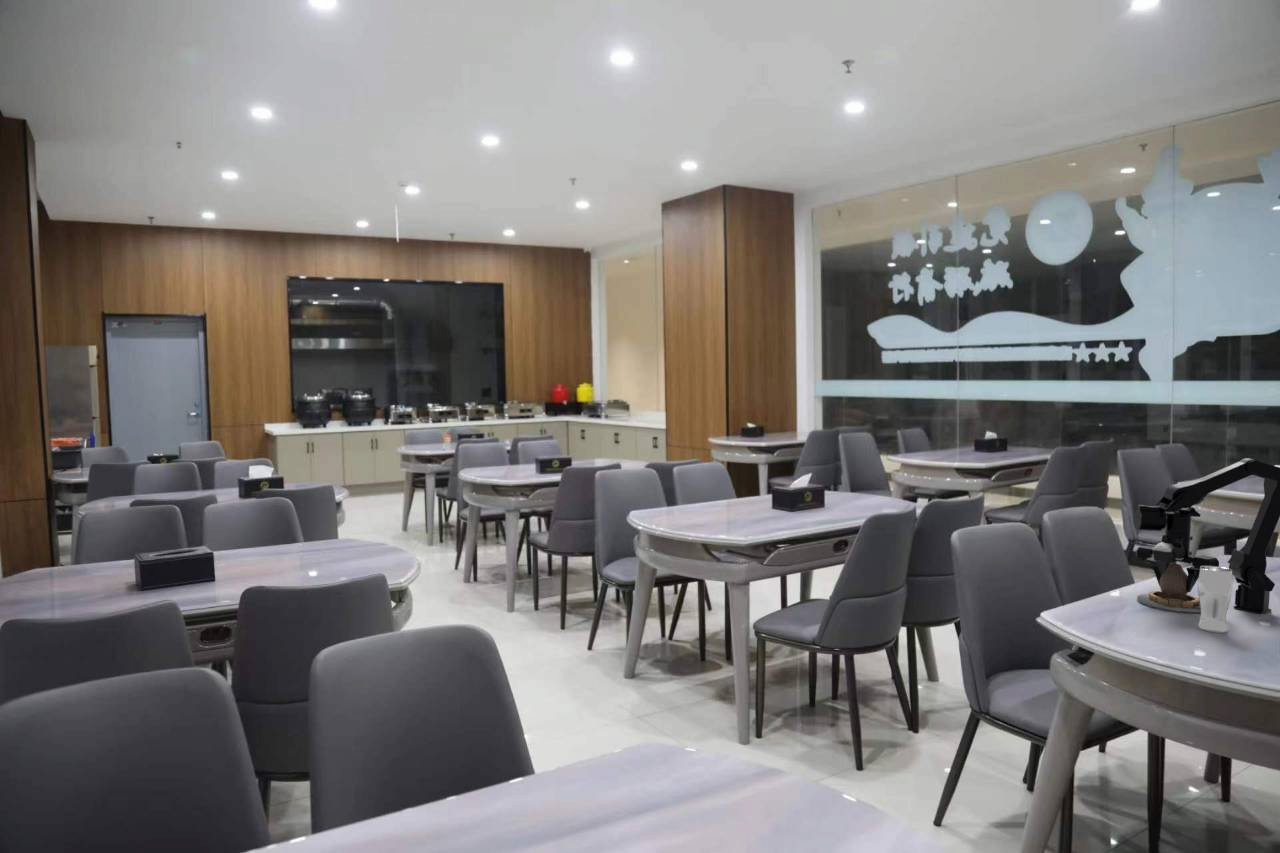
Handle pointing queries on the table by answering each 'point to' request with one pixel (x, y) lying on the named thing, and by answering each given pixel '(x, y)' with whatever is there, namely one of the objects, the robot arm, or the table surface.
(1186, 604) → the wooden ring on tray
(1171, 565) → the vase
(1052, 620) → the table surface
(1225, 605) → the beer glass
